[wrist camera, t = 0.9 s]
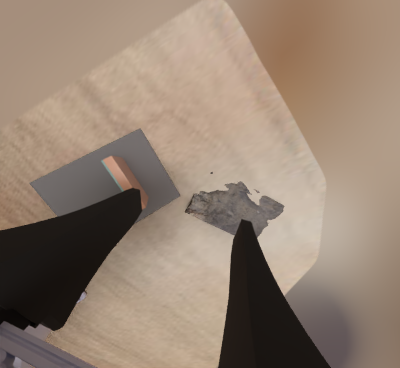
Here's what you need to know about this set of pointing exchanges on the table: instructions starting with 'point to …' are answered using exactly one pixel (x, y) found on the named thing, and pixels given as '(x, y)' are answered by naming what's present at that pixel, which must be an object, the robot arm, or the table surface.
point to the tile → (124, 176)
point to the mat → (107, 178)
